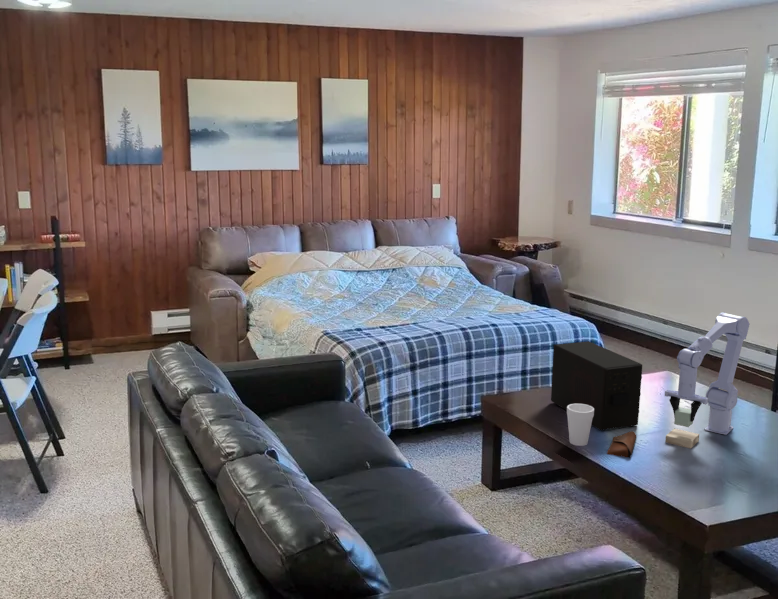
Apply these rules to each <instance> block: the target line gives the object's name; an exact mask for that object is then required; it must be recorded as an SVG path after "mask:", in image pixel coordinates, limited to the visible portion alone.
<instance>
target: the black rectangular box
mask: <svg viewBox="0 0 778 599" xmlns="http://www.w3.org/2000/svg"><path fill="white" fill-rule="evenodd" d="M552 355H553V356H552V373H551V374H552V375H551V392H550V394H551V395H550V401H551V402H552V403H553V404H555V405H557V406H558V407H560V408H562V409H564V410H565V411H567V406H568V405H570V404H586V405H589V406H592V407H593V408H594V417H593V419H592V424H591V426H593V427H594V428H595V429H597V430H600V431H602V432H604V431H606V430H613V429H614V430H615V429H619V428H626V427H629V428H632V427H634V426H635V427H636V426H638V425H639V413H640V404H641V403H640V402H641V395H642V394H641V388H642V378H643V376H642V375H643V364H642V363H640V362H638V361H636V360H633V359H631V358H628V357H626V356H624V355H621V354H620V353H617V352H614V351H612V350H610V349H608V348H605V347H603V346H601V345H598V344H595V343H594V342H591V341H579V342H569V343H566V342H565V343H558V344H553V354H552Z"/></svg>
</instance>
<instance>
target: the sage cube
mask: <svg viewBox="0 0 778 599" xmlns="http://www.w3.org/2000/svg"><path fill="white" fill-rule="evenodd" d="M690 417H691V408H685V407H681V406H679V408H678V409H677V410H676V411H675V418H674V423H673V424H674V425H677V426H682V427H685V428H689V427H690V426H692V425H693V423H694V421H693V422H691V421H690Z"/></svg>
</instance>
